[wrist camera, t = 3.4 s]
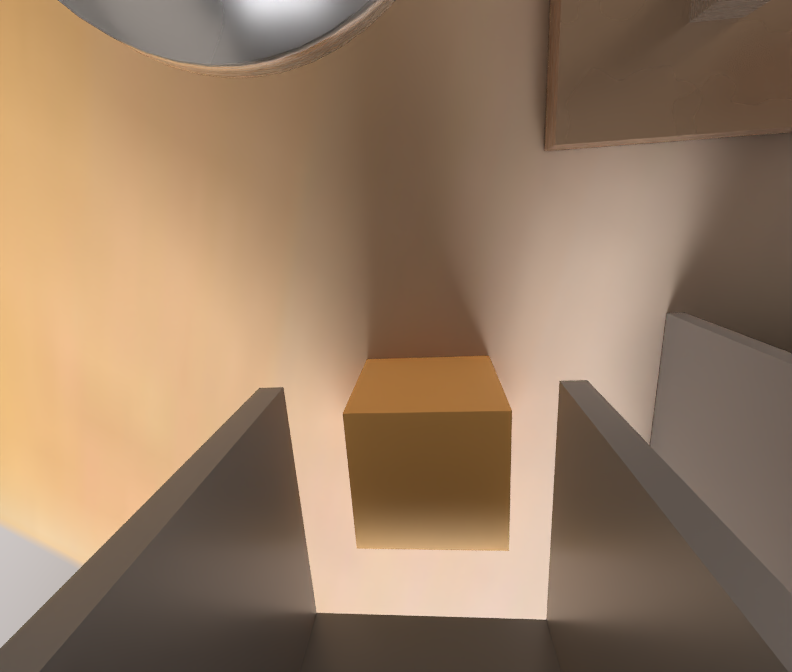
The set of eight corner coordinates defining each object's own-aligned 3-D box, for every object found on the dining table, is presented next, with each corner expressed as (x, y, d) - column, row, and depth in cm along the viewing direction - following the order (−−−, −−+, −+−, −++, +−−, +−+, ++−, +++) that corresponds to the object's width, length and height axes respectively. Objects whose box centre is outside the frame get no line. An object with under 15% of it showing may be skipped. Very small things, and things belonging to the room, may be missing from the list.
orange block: (488, 461, 14) (508, 550, 11) (376, 462, 15) (356, 548, 11) (488, 354, 13) (511, 410, 9) (367, 358, 14) (342, 413, 10)
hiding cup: (567, 636, 9) (780, 1286, 4) (298, 627, 10) (122, 1177, 4) (587, 380, 8) (1054, 868, 2) (259, 388, 8) (-126, 775, 3)
